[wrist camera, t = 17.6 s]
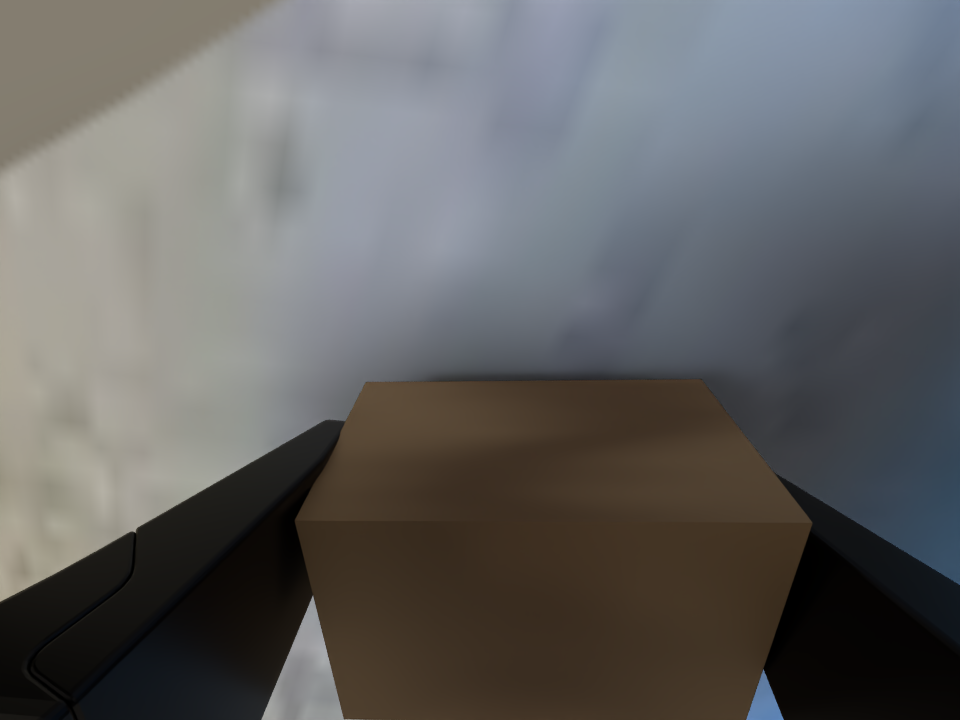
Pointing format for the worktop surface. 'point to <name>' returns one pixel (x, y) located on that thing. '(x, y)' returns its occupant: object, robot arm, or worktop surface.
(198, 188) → the worktop surface
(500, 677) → the cardboard brown box
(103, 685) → the robot arm
